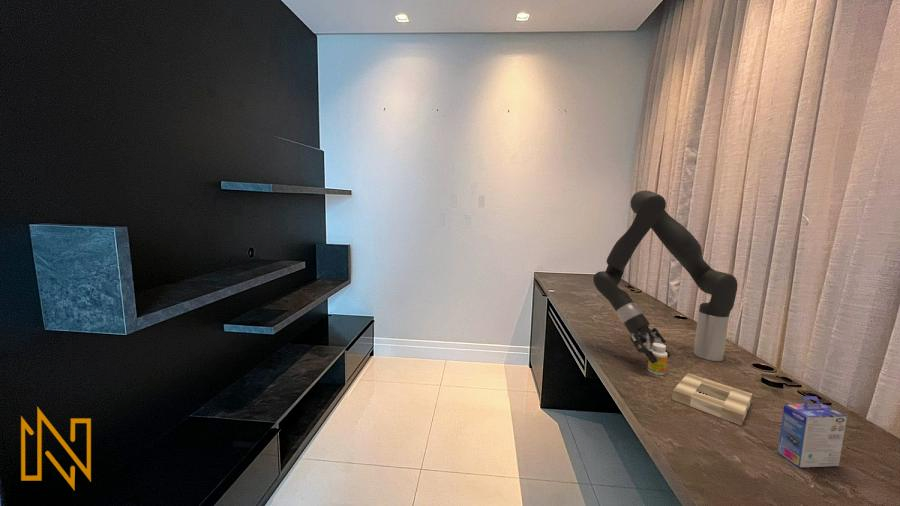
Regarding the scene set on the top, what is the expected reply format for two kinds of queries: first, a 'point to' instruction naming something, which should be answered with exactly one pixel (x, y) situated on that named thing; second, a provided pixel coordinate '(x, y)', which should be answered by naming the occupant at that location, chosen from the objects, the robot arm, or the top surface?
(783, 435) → the ink cartridge box
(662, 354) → the supplement bottle
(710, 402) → the light wooden square frame
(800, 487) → the top surface
